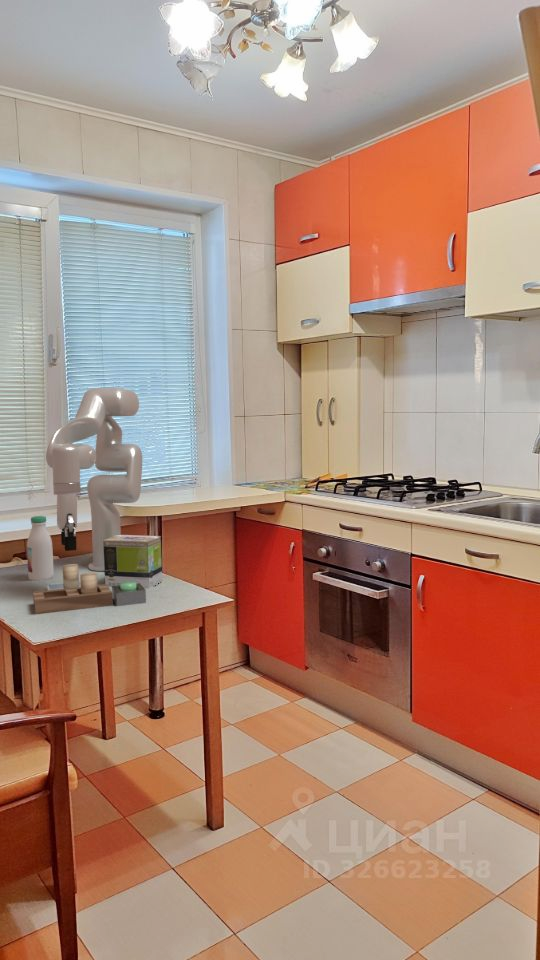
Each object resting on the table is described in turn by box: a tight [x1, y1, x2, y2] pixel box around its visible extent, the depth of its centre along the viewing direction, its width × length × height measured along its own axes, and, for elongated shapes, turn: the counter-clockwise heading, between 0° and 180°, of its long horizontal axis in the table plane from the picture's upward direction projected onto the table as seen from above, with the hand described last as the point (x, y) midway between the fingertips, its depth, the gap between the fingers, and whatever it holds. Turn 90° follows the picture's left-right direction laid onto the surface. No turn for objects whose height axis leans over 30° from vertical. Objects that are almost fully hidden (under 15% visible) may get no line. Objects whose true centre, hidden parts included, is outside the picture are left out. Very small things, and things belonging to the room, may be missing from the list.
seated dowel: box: [79, 572, 98, 594], centre depth 194 cm, size 4×4×8 cm
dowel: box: [62, 563, 80, 589], centre depth 205 cm, size 4×4×8 cm
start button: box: [120, 582, 137, 591], centre depth 196 cm, size 4×4×3 cm
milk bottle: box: [26, 515, 55, 581], centre depth 223 cm, size 8×8×20 cm
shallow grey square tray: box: [46, 580, 81, 590], centre depth 205 cm, size 13×13×2 cm
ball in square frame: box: [111, 583, 147, 607], centre depth 196 cm, size 8×8×4 cm
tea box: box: [103, 534, 163, 589], centre depth 215 cm, size 15×10×15 cm, turn 74°
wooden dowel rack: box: [32, 583, 114, 615], centre depth 193 cm, size 10×20×4 cm, turn 112°
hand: (68, 547), depth 203 cm, fingers open, 9 cm apart
